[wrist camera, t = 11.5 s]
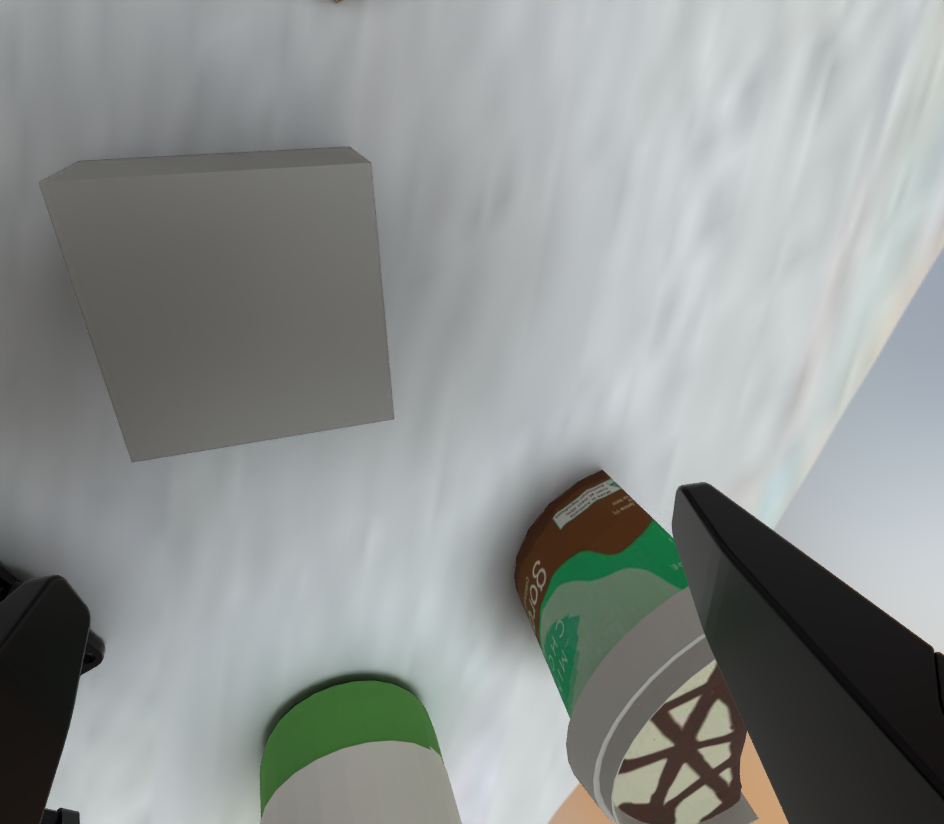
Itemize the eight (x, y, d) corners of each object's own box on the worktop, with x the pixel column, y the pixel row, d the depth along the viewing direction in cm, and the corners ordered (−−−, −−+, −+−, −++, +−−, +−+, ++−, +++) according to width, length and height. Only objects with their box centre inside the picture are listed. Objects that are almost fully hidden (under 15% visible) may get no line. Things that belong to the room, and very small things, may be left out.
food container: (460, 495, 25) (568, 708, 17) (598, 441, 26) (766, 617, 18) (517, 680, 32) (615, 900, 23) (626, 632, 33) (758, 826, 24)
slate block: (151, 396, 20) (131, 462, 17) (80, 159, 17) (38, 182, 13) (371, 365, 22) (394, 419, 18) (348, 145, 18) (371, 162, 15)
